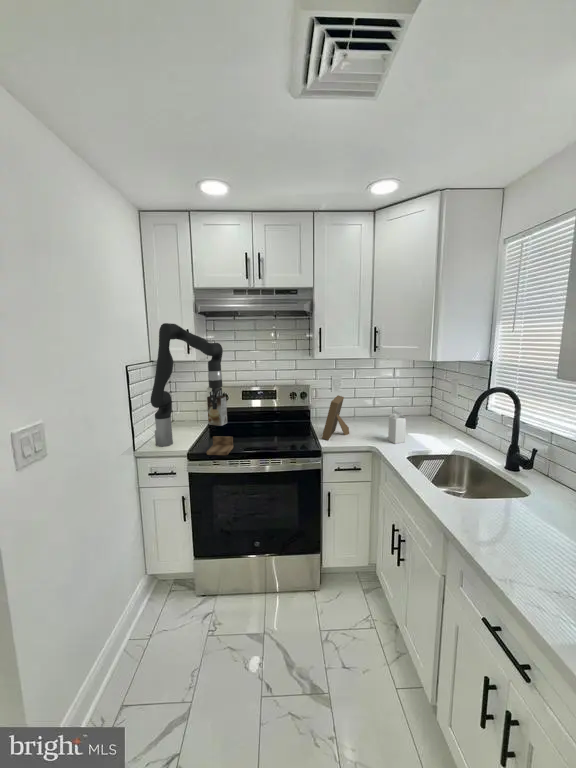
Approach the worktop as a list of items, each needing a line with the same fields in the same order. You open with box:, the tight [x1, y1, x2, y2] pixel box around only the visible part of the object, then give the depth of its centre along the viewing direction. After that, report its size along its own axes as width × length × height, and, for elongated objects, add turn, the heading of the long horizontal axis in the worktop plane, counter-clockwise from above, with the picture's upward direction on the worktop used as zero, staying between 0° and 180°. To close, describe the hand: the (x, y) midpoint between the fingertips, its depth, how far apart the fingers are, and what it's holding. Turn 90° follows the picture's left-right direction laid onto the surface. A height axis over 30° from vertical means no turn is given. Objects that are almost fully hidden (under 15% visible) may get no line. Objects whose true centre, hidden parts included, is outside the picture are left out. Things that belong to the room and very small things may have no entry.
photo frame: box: [321, 395, 350, 441], centre depth 211 cm, size 15×22×25 cm
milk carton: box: [387, 409, 407, 445], centre depth 197 cm, size 7×7×19 cm
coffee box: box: [206, 395, 228, 426], centre depth 184 cm, size 9×6×16 cm
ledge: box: [206, 435, 234, 456], centre depth 188 cm, size 12×12×7 cm
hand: (217, 407), depth 183 cm, fingers closed on coffee box, 7 cm apart
